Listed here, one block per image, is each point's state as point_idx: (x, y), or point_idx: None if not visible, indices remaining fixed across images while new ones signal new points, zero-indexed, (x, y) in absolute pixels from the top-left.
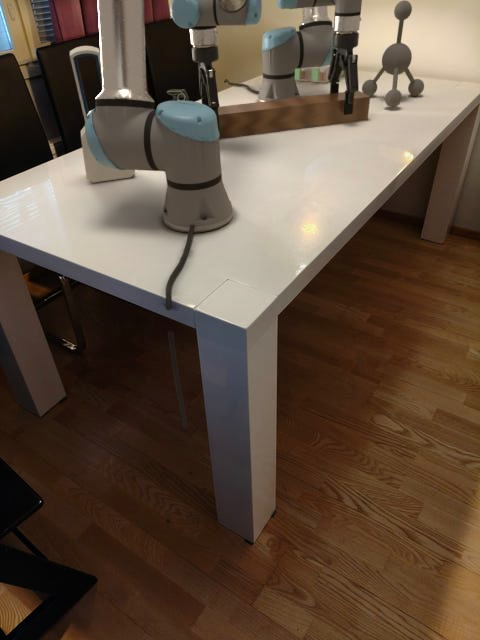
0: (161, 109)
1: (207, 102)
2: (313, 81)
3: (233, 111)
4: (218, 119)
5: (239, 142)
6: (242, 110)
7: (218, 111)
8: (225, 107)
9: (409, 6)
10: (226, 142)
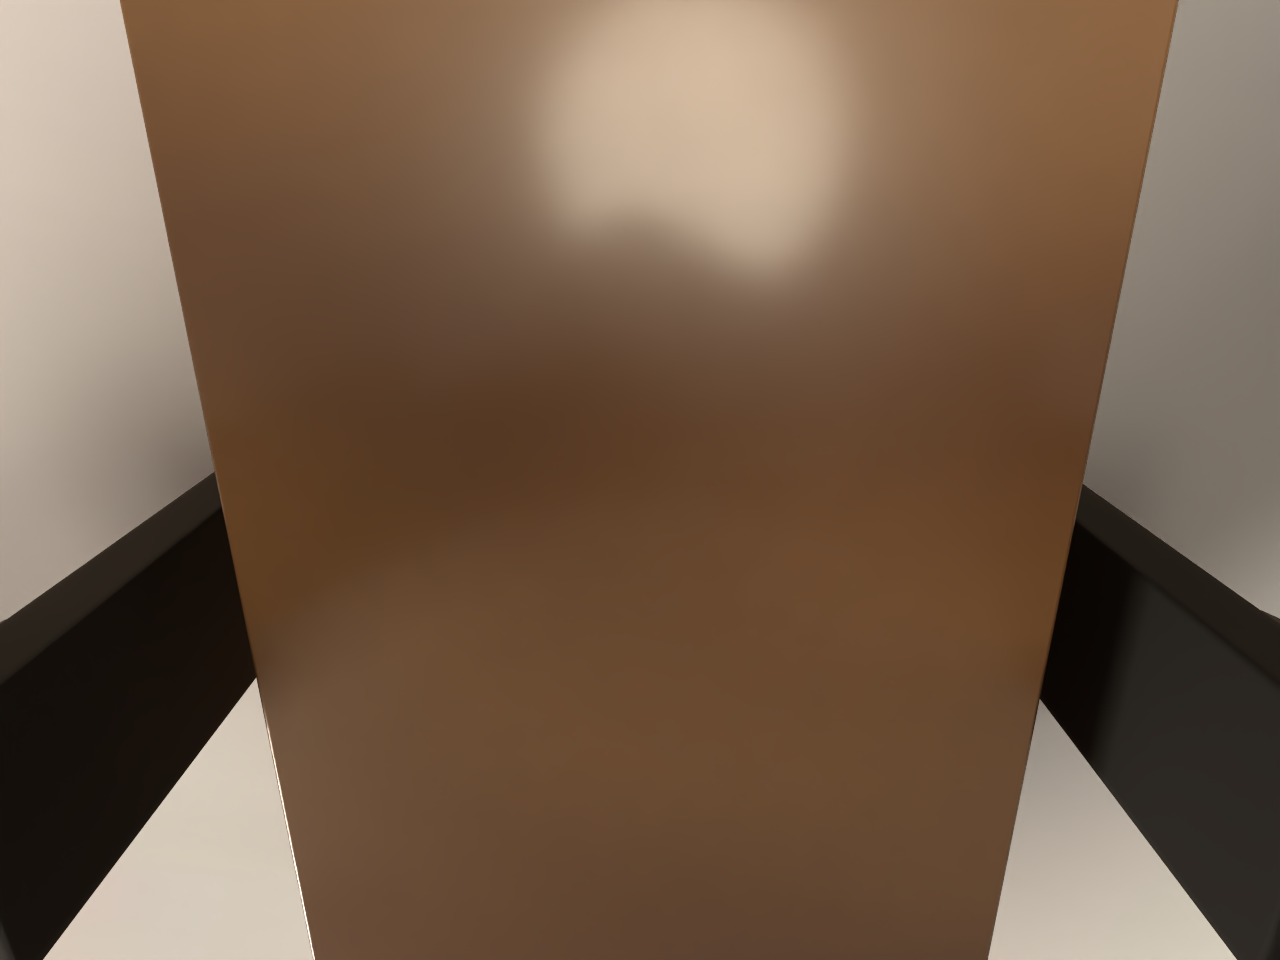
0: None
1: (66, 745)
2: None
3: (969, 22)
4: (1178, 561)
5: (1235, 109)
6: None
7: (735, 495)
8: (345, 186)
9: None
10: None
